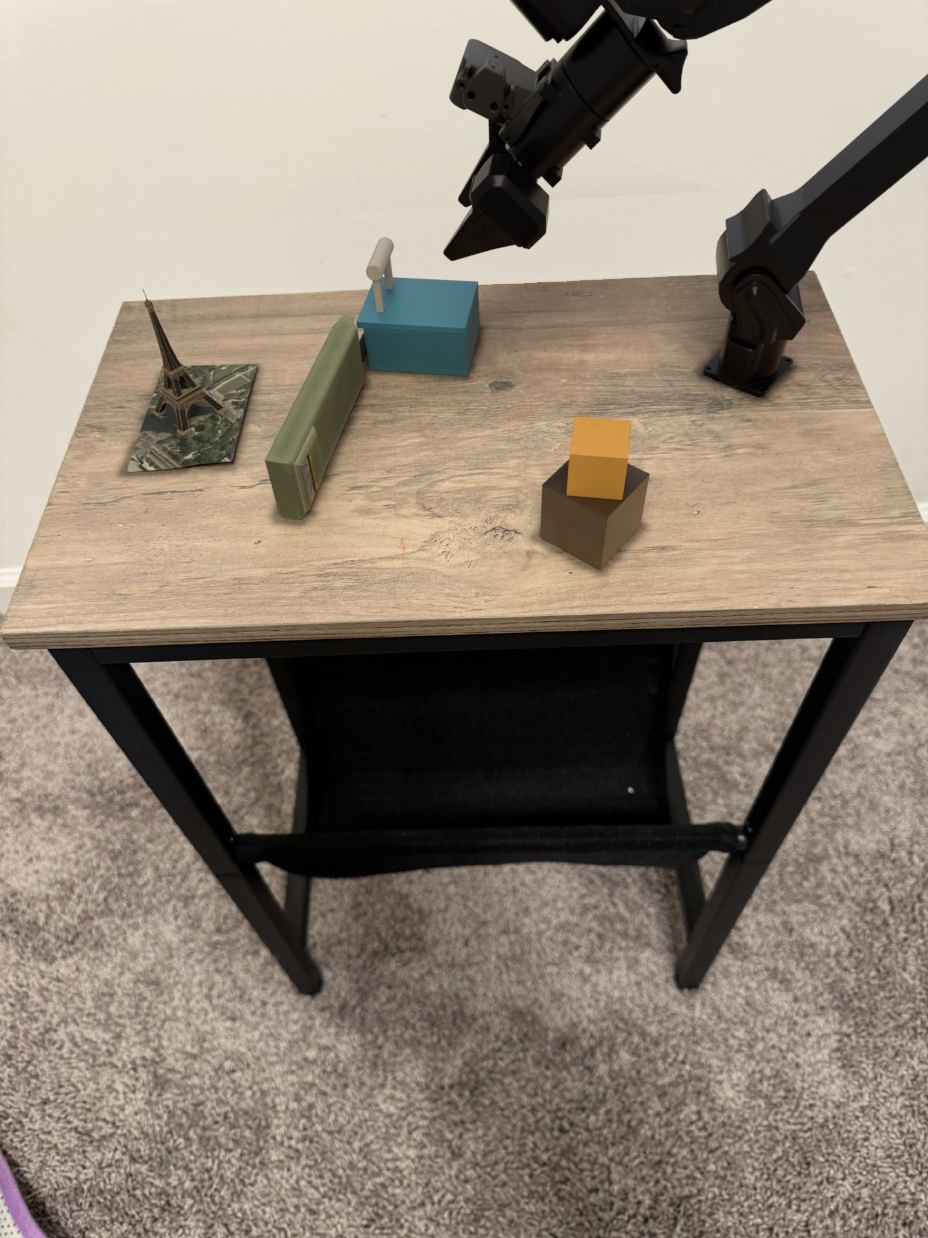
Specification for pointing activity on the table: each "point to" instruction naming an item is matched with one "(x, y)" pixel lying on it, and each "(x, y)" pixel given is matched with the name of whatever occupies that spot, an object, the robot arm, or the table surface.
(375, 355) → the teal open box
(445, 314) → the teal lid with handle
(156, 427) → the eiffel tower figurine
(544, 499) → the stand
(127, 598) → the table surface
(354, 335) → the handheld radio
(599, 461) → the block
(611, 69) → the robot arm
